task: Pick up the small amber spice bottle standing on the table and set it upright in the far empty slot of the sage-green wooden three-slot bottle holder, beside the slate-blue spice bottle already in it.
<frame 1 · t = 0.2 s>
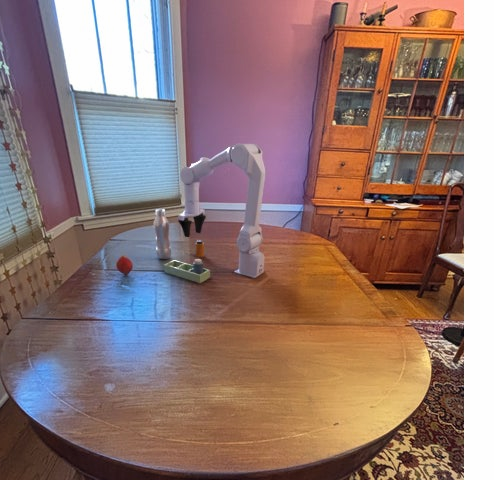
hand: (192, 234, 125), 10 cm above the table, tool pointing down, fingers open, 7 cm apart
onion: (126, 275, 113), on the table
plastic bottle: (164, 258, 129), on the table
bottle holder: (186, 275, 113), on the table
amber spice bottle: (199, 256, 132), on the table
slate spice bottle: (198, 278, 110), resting on bottle holder
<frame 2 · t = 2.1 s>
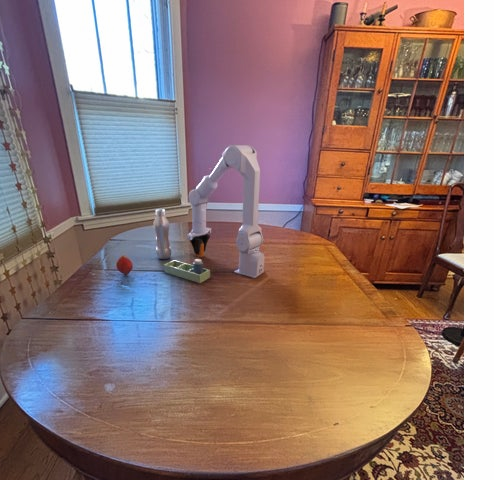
hand: (199, 252, 131), 2 cm above the table, tool pointing down, fingers closed on amber spice bottle, 3 cm apart
amber spice bottle: (199, 256, 132), on the table, touching gripper
everything else where it was.
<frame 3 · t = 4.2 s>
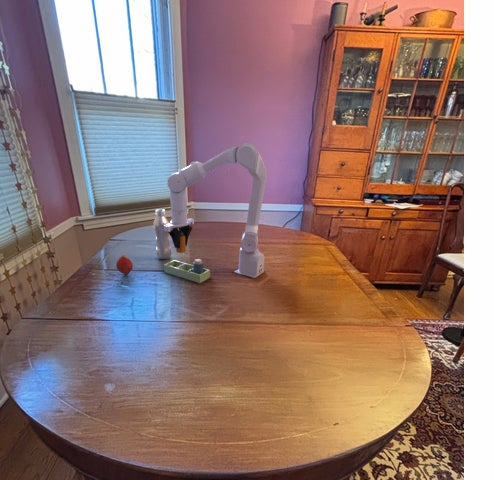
hand: (180, 246, 115), 9 cm above the table, tool pointing down, fingers closed on amber spice bottle, 3 cm apart
amber spice bottle: (181, 251, 116), point 7 cm above the table, touching gripper
everything else where it was.
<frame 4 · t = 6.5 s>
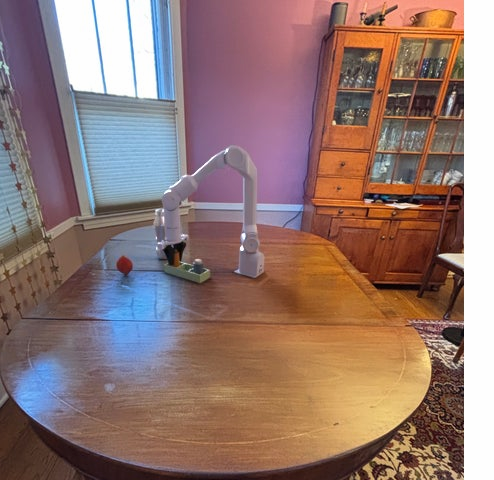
hand: (175, 262, 114), 4 cm above the table, tool pointing down, fingers closed on amber spice bottle, 3 cm apart
amber spice bottle: (175, 267, 115), point 2 cm above the table, touching gripper
everything else where it was.
when the fingers open (4 cm above the table, at t = 10.3 s): amber spice bottle drops 2 cm, resting on bottle holder.
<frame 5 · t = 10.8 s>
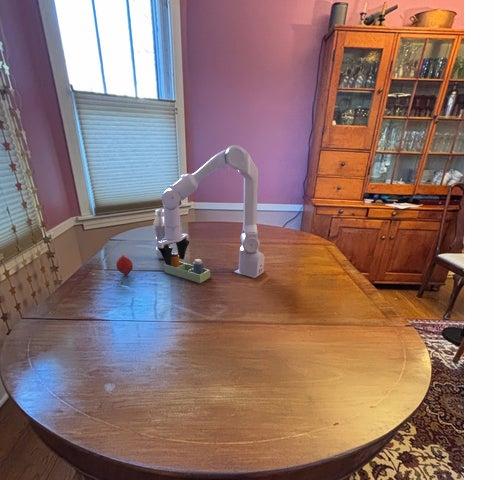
hand: (175, 261, 114), 4 cm above the table, tool pointing down, fingers open, 7 cm apart
amber spice bottle: (175, 270, 115), point 1 cm above the table, touching bottle holder
everything else where it was.
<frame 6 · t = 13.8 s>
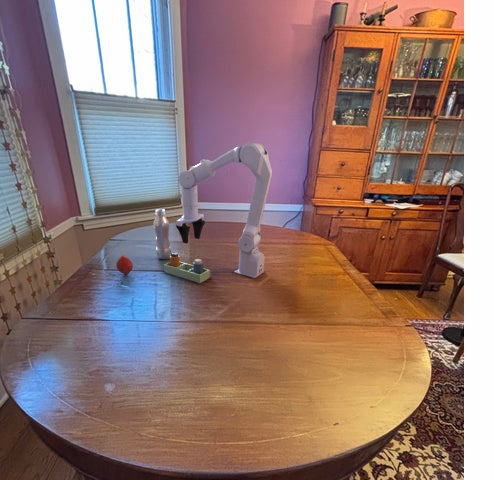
hand: (191, 240, 120), 9 cm above the table, tool pointing down, fingers open, 7 cm apart
nothing on the table moved.
at the end: amber spice bottle 0.1 cm from the target spot in the bottle holder, point 0.7 cm above the bottle holder's base; amber spice bottle tilted 0°; slate spice bottle moved 0.0 cm from its start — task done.
